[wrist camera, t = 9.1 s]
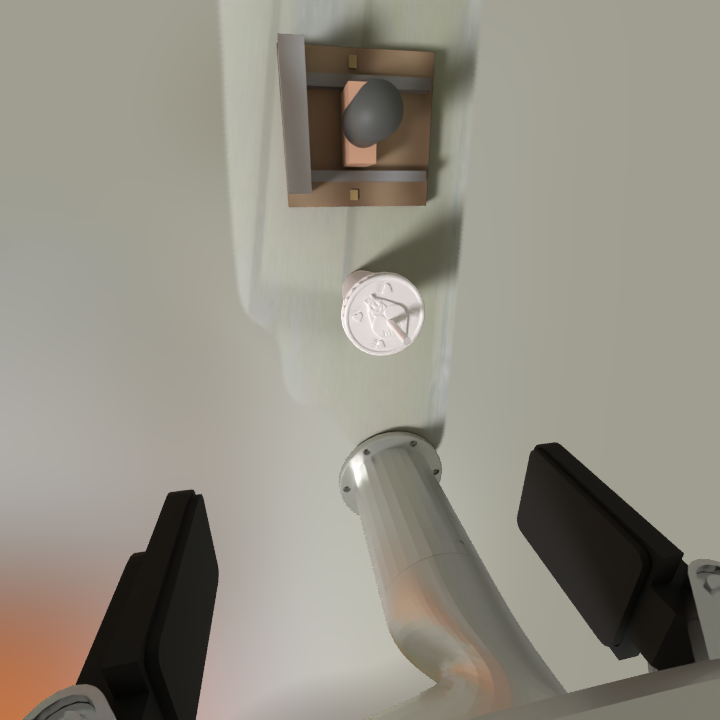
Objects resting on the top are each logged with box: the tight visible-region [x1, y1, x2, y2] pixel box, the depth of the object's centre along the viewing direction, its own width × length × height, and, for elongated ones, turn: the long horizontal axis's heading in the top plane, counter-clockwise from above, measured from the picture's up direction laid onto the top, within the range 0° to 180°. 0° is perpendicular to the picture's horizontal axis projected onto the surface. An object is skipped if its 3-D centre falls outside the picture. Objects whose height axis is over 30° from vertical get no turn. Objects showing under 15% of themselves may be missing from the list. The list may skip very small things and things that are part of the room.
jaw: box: [341, 79, 404, 167], centre depth 27 cm, size 3×5×9 cm, turn 0°
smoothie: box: [341, 270, 425, 356], centre depth 31 cm, size 6×6×14 cm
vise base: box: [277, 33, 435, 207], centre depth 29 cm, size 12×11×6 cm
